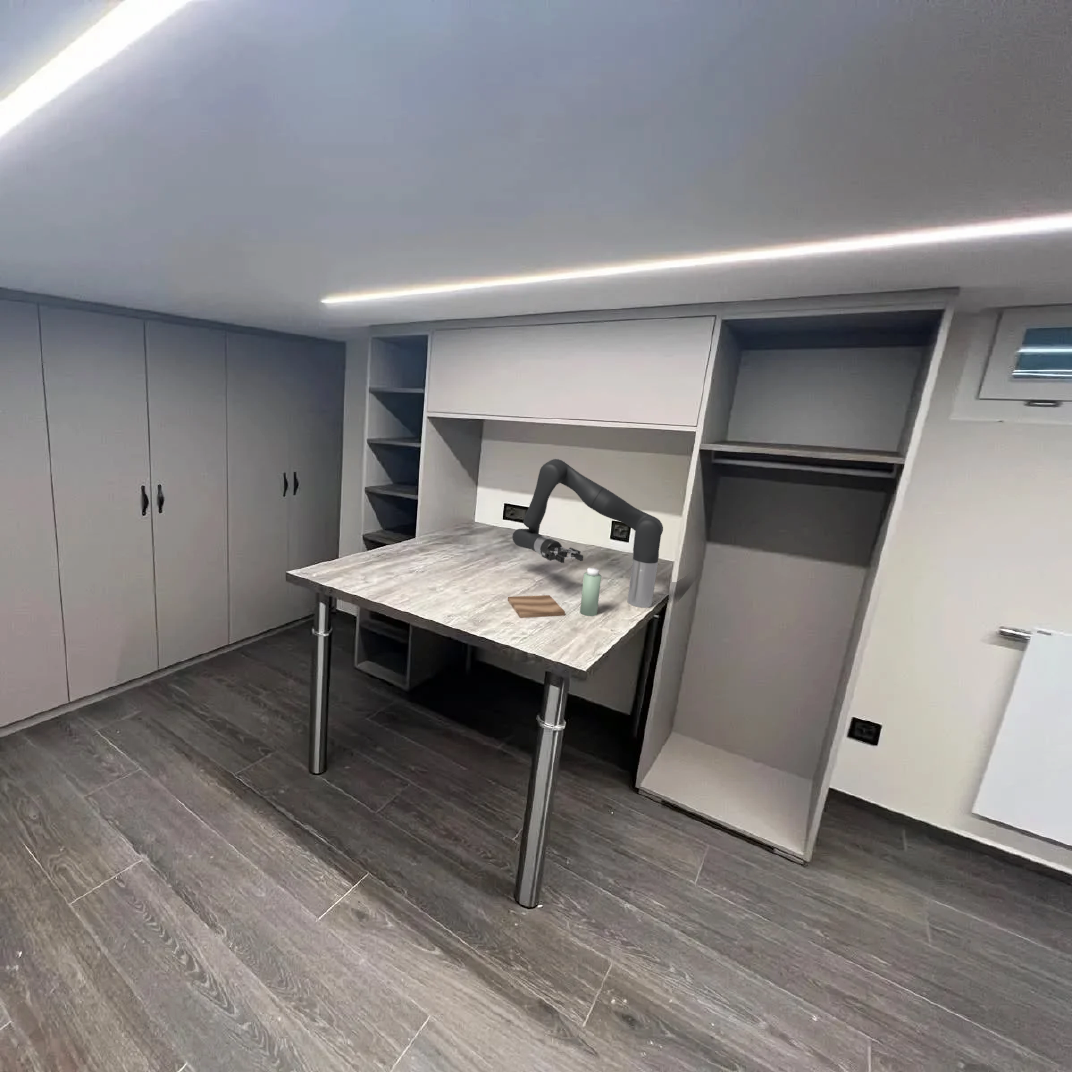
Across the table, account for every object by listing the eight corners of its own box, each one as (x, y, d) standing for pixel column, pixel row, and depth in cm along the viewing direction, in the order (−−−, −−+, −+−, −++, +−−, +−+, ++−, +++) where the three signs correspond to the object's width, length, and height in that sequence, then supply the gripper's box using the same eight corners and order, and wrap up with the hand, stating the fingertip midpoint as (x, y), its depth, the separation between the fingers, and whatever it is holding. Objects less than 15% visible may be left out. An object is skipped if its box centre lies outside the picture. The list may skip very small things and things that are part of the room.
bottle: (583, 608, 180) (588, 565, 177) (599, 612, 178) (604, 569, 174) (577, 613, 175) (581, 569, 171) (593, 617, 172) (598, 573, 169)
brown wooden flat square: (507, 600, 182) (507, 596, 181) (549, 598, 187) (549, 595, 187) (520, 617, 167) (520, 613, 167) (564, 615, 172) (565, 611, 172)
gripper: (533, 539, 190) (558, 550, 177) (563, 537, 198) (589, 548, 185) (531, 558, 191) (556, 571, 179) (561, 555, 199) (587, 567, 186)
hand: (573, 559), depth 182 cm, fingers open, 8 cm apart
